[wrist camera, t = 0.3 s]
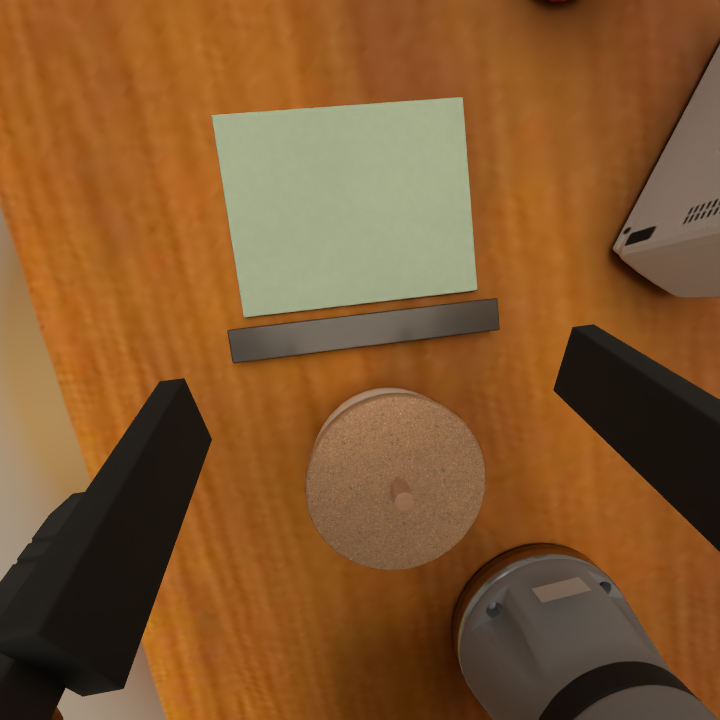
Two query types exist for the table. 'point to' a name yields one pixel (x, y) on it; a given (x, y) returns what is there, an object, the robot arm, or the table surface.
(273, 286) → the mat
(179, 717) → the table surface
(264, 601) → the table surface
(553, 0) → the smoothie
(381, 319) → the divider
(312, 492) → the trinket box
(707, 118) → the radio
